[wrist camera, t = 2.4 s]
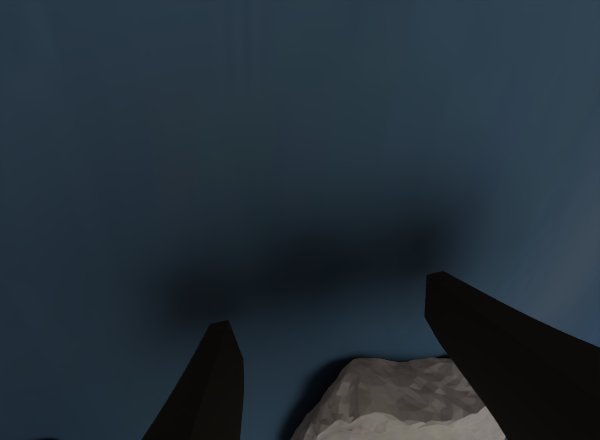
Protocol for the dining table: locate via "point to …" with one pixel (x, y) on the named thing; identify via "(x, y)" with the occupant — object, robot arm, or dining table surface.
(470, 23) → the dining table surface
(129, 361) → the dining table surface
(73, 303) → the dining table surface
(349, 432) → the stone block
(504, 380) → the robot arm
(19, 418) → the dining table surface
